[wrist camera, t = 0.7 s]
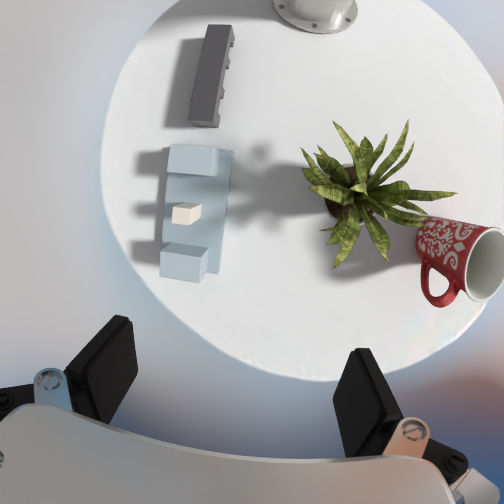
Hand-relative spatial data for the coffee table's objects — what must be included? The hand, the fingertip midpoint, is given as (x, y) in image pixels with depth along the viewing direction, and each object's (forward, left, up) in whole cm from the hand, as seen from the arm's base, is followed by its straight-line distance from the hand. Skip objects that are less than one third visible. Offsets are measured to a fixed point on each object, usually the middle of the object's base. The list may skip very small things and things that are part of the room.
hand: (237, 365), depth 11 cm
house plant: (-8, +11, -27) cm, 30 cm away
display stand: (-2, -8, -27) cm, 28 cm away
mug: (-2, +26, -27) cm, 37 cm away
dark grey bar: (-20, -8, -27) cm, 35 cm away
